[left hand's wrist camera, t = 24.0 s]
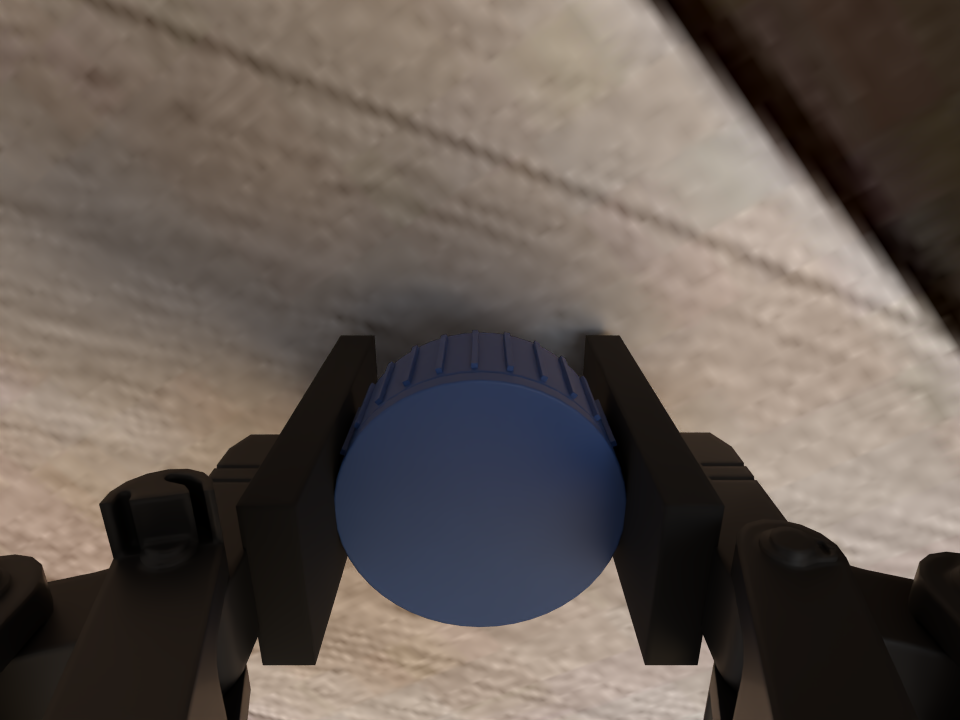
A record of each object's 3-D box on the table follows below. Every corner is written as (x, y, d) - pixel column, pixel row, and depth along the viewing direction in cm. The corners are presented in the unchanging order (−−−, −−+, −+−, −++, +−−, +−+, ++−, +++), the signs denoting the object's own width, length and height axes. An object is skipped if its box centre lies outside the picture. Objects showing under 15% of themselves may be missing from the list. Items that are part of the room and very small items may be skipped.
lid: (638, 505, 13) (668, 582, 11) (417, 578, 13) (405, 663, 11) (557, 288, 11) (574, 328, 9) (308, 383, 12) (273, 441, 10)
